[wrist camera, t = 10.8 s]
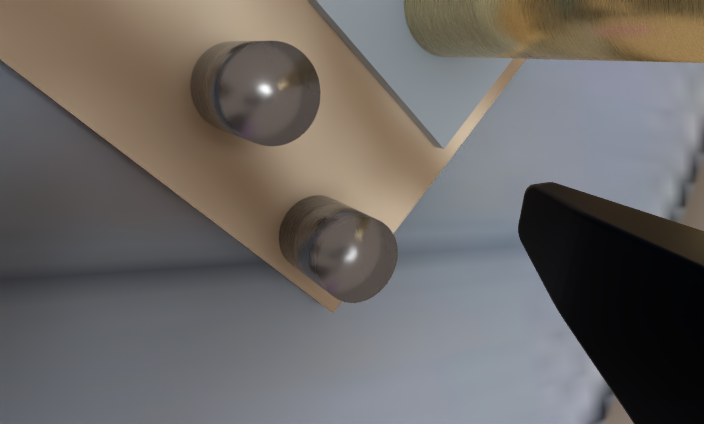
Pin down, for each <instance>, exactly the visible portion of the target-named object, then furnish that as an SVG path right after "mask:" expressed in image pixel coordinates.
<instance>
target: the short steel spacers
mask: <svg viewBox="0 0 704 424" xmlns="http://www.w3.org/2000/svg"><path fill="white" fill-rule="evenodd" d="M190 91H191V97H192V100H193V103H194V105H195V108H196V109H197V111H198V113H199V114H200V115H201V116H202V118H203V119H204V120H205V121H207V122H208V123H209V124H210V125H212V126H214V127H216V128H218V129H220V130H223V131H226V132H228V133H231V134H233V135H236V136H238V137H241V138H243V139H246V140H249V141H251V142H254V143H256V144H259V145H263V146H281V145H285V144H288V143H290V142H292V141H294V140H296V139H297V138H299V137H300V136H301V135H303V134H304V133H305V132H306V131H307V130H308V128H309V127H310V126H311V124H312V123H313V121H314V119H315V117H316V114H317V112H318V109H319V104H320V94H321V91H320V83H319V78H318V75H317V72H316V70H315V68H314V66H313V64H312V63H311V61H310V60H309V59H308V58H307V56H306V55H305V54H304V53H303V52H301V51H300V50H299V49H297V48H296V47H294V46H292V45H290V44H287V43H285V42H280V41H228V42H222V43H219V44H216V45H214V46H212V47H211V48H209V49H208V50H206V51H205V52H204V53H203V54H202V55H201V56H200V58H199V59H198V60H197V62H196V64H195V66H194V68H193V71H192V75H191V80H190ZM279 245H280V249H281V252H282V254H283V256H284V257H285V259H286V260H287V261H288V262H289V263H290V264H291V265H293V266H294V267H295V268H296V269H298V270H299V271H300V272H302V273H303V274H304V275H306V276H307V277H308V278H310V279H311V280H312V281H313V282H315V283H316V284H317V285H319V286H320V287H321V288H323V289H324V290H325V291H327V292H328V293H329V294H331V295H332V296H333V297H335V298H336V299H338V300H340V301H343V302H348V303H356V302H361V301H364V300H367V299H369V298H371V297H373V296H374V295H376V294H377V293H378V292H380V291H381V290H382V289H383V288H384V286H385V285H386V284H387V283H388V281H389V280H390V278H391V276H392V274H393V272H394V269H395V266H396V262H397V254H398V252H397V243H396V240H395V237H394V235H393V233H392V231H391V230H390V228H389V227H388V226H387V225H385V224H384V223H383V222H381V221H379V220H377V219H375V218H373V217H371V216H369V215H367V214H364V213H362V212H360V211H358V210H356V209H354V208H352V207H349V206H347V205H345V204H343V203H341V202H339V201H337V200H335V199H332V198H330V197H327V196H323V195H315V196H309V197H307V198H304V199H302V200H300V201H299V202H297V203H296V204H295V205H293V206H292V207H291V208H290V210H289V211H288V212H287V213H286V215H285V217H284V219H283V221H282V223H281V226H280V230H279Z"/></svg>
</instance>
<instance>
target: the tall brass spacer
mask: <svg viewBox="0 0 704 424" xmlns="http://www.w3.org/2000/svg"><path fill="white" fill-rule="evenodd" d="M404 10H405V17H406V21H407V24H408V27H409V30H410V32H411V34H412V36H413V37H414V39H415V40H416V42H417V43H418V44H419V45H420V46H421V47H422V48H423V49H424V50H426V51H427V52H429V53H431V54H433V55H436V56H440V57H469V58H513V59H558V60H602V61H647V62H692V63H704V0H404Z"/></svg>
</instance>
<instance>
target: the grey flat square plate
mask: <svg viewBox="0 0 704 424" xmlns="http://www.w3.org/2000/svg"><path fill="white" fill-rule="evenodd" d="M308 1H309V2H310V3H311V5H312V6H313V7H314V8H315V9H316V10H317V12H318V13H319V14H320V15H321V16H322V17H323V18H324V20H325V21H326V22H327V23H328V24H329V25H330V26H331V28H332V29H333V30H334V31H335V32H336V33H337V35H338V36H339V37H340V38H341V39H342V40H343V41H344V43H345V44H346V45H347V46H348V47H349V48H350V49H351V51H352V52H353V53H354V54H355V55H356V56H357V58H358V59H359V60H360V61H361V62H362V63H363V64H364V66H365V67H366V68H367V69H368V70H369V71H370V72H371V74H372V75H373V76H374V77H375V78H376V79H377V81H378V82H379V83H380V84H381V85H382V86H383V87H384V89H385V90H386V91H387V92H388V93H389V94H390V95H391V97H392V98H393V99H394V100H395V101H396V102H397V104H398V105H399V106H400V107H401V108H402V109H403V110H404V112H405V113H406V114H407V115H408V116H409V117H410V118H411V120H412V121H413V122H414V123H415V124H416V125H417V127H418V128H419V129H420V130H421V131H422V132H423V133H424V135H425V136H426V137H427V138H428V139H429V140H430V141H431V143H432V144H433V145H434V146H435V147H438V148H442V149H444V148H445V147H446V146H447V144H448V143H449V142H450V141H451V139H452V138H453V137H454V135H455V134H456V133H457V131H458V130H459V129H460V127H461V126H462V125H463V124H464V122H465V121H466V120H467V118H468V117H469V116H470V114H471V113H472V112H473V110H474V109H475V108H476V107H477V105H478V104H479V103H480V101H481V100H482V99H483V97H484V96H485V95H486V93H487V92H488V91H489V90H490V88H491V87H492V86H493V84H494V83H495V82H496V80H497V79H498V78H499V77H500V75H501V74H502V73H503V71H504V70H505V69H506V67H507V66H508V65H509V63H510V62H511V61H512V60H513V58H469V57H440V56H436V55H433V54H431V53H429V52H427V51H426V50H424V49H423V48H422V47H421V46H420V45H419V44H418V43H417V42H416V40H415V39H414V37H413V36H412V34H411V32H410V30H409V27H408V24H407V21H406V17H405V10H404V0H308Z"/></svg>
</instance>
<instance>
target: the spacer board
mask: <svg viewBox="0 0 704 424" xmlns="http://www.w3.org/2000/svg"><path fill="white" fill-rule="evenodd" d="M228 41H280V42H285V43H287V44H290V45H292V46H294V47H296V48H297V49H299V50H300V51H301V52H303V53H304V54H305V55H306V56H307V58H308V59H309V60H310V61H311V63H312V64H313V66H314V68H315V70H316V72H317V75H318V78H319V83H320V91H321V94H320V104H319V109H318V112H317V114H316V117H315V119H314V121H313V123H312V124H311V126H310V127H309V128H308V130H307V131H306V132H305V133H304V134H303V135H301V136H300V137H299V138H297V139H296V140H294V141H292V142H290V143H288V144H285V145H281V146H263V145H259V144H256V143H254V142H251V141H249V140H246V139H243V138H241V137H238V136H236V135H233V134H231V133H228V132H226V131H223V130H220V129H218V128H216V127H214V126H212V125H210V124H209V123H208V122H207V121H205V120H204V119H203V118H202V116H201V115H200V114H199V113H198V111H197V109H196V108H195V105H194V103H193V100H192V97H191V91H190V80H191V75H192V71H193V68H194V66H195V64H196V62H197V60H198V59H199V58H200V56H201V55H202V54H203V53H204V52H205V51H206V50H208V49H209V48H211V47H212V46H214V45H216V44H219V43H222V42H228ZM0 60H2V61H3V62H4V63H6V64H7V65H8V66H10V67H11V68H12V69H14V70H15V71H16V72H17V73H19V74H20V75H21V76H23V77H24V78H25V79H27V80H28V81H29V82H31V83H32V84H33V85H35V86H36V87H37V88H38V89H40V90H41V91H42V92H44V93H45V94H46V95H48V96H49V97H50V98H52V99H53V100H54V101H56V102H57V103H58V104H59V105H61V106H62V107H63V108H65V109H66V110H67V111H69V112H70V113H71V114H73V115H74V116H75V117H77V118H78V119H79V120H80V121H82V122H83V123H84V124H86V125H87V126H88V127H90V128H91V129H92V130H94V131H95V132H96V133H98V134H99V135H100V136H101V137H103V138H104V139H105V140H107V141H108V142H109V143H111V144H112V145H113V146H115V147H116V148H117V149H119V150H120V151H121V152H122V153H124V154H125V155H126V156H128V157H129V158H130V159H132V160H133V161H134V162H136V163H137V164H138V165H140V166H141V167H142V168H143V169H145V170H146V171H147V172H149V173H150V174H151V175H153V176H154V177H155V178H157V179H158V180H159V181H161V182H162V183H163V184H164V185H166V186H167V187H168V188H170V189H171V190H172V191H174V192H175V193H176V194H178V195H179V196H180V197H182V198H183V199H184V200H185V201H187V202H188V203H189V204H191V205H192V206H193V207H195V208H196V209H197V210H199V211H200V212H201V213H202V214H204V215H205V216H206V217H208V218H209V219H210V220H212V221H213V222H214V223H216V224H217V225H218V226H220V227H221V228H222V229H223V230H225V231H226V232H227V233H229V234H230V235H231V236H233V237H234V238H235V239H237V240H238V241H239V242H241V243H242V244H243V245H244V246H246V247H247V248H248V249H250V250H251V251H252V252H254V253H255V254H256V255H258V256H259V257H260V258H262V259H263V260H264V261H265V262H267V263H268V264H269V265H271V266H272V267H273V268H275V269H276V270H277V271H279V272H280V273H281V274H283V275H284V276H285V277H286V278H288V279H289V280H290V281H292V282H293V283H294V284H296V285H297V286H298V287H300V288H301V289H302V290H304V291H305V292H306V293H307V294H309V295H310V296H311V297H313V298H314V299H315V300H317V301H318V302H319V303H321V304H322V305H323V306H325V307H326V308H327V309H328V310H330V311H331V312H332V313H333V312H334V311H335V310H336V308H337V307H338V306H339V304H340V303H341V302H342V301H340V300H338V299H336V298H335V297H333V296H332V295H331V294H329V293H328V292H327V291H325V290H324V289H323V288H321V287H320V286H319V285H317V284H316V283H315V282H313V281H312V280H311V279H310V278H308V277H307V276H306V275H304V274H303V273H302V272H300V271H299V270H298V269H296V268H295V267H294V266H293V265H291V264H290V263H289V262H288V261H287V260H286V259H285V257H284V256H283V254H282V252H281V249H280V245H279V230H280V226H281V223H282V221H283V219H284V217H285V215H286V213H287V212H288V211H289V210H290V208H291V207H292V206H293V205H295V204H296V203H297V202H299V201H300V200H302V199H304V198H307V197H309V196H315V195H323V196H327V197H330V198H332V199H335V200H337V201H339V202H341V203H343V204H345V205H347V206H349V207H352V208H354V209H356V210H358V211H360V212H362V213H364V214H367V215H369V216H371V217H373V218H375V219H377V220H379V221H381V222H383V223H384V224H385V225H387V226H388V227H389V228H390V230H391V231H392V233H394V232H395V231H396V230H397V228H398V227H399V226H400V224H401V223H402V222H403V220H404V219H405V218H406V216H407V215H408V214H409V212H410V211H411V210H412V209H413V207H414V206H415V205H416V203H417V202H418V201H419V199H420V198H421V197H422V195H423V194H424V193H425V191H426V190H427V189H428V188H429V186H430V185H431V184H432V182H433V181H434V180H435V178H436V177H437V176H438V174H439V173H440V172H441V170H442V169H443V168H444V166H445V165H446V164H447V163H448V161H449V160H450V159H451V157H452V156H453V155H454V153H455V152H456V151H457V149H458V148H459V147H460V145H461V144H462V143H463V142H464V140H465V139H466V138H467V136H468V135H469V134H470V132H471V131H472V130H473V128H474V127H475V126H476V124H477V123H478V122H479V121H480V119H481V118H482V117H483V115H484V114H485V113H486V111H487V110H488V109H489V107H490V106H491V105H492V103H493V102H494V101H495V100H496V98H497V97H498V96H499V94H500V93H501V92H502V90H503V89H504V88H505V86H506V85H507V84H508V82H509V81H510V80H511V79H512V77H513V76H514V75H515V73H516V72H517V71H518V69H519V68H520V67H521V65H522V64H523V63H524V61H525V60H526V59H513V60H512V61H511V62H510V63H509V65H508V66H507V67H506V69H505V70H504V71H503V73H502V74H501V75H500V77H499V78H498V79H497V80H496V82H495V83H494V84H493V86H492V87H491V88H490V90H489V91H488V92H487V93H486V95H485V96H484V97H483V99H482V100H481V101H480V103H479V104H478V105H477V107H476V108H475V109H474V110H473V112H472V113H471V114H470V116H469V117H468V118H467V120H466V121H465V122H464V124H463V125H462V126H461V127H460V129H459V130H458V131H457V133H456V134H455V135H454V137H453V138H452V139H451V141H450V142H449V143H448V144H447V146H446V147H445V148H444V149H442V148H438V147H435V146H434V145H433V144H432V143H431V141H430V140H429V139H428V138H427V137H426V136H425V135H424V133H423V132H422V131H421V130H420V129H419V128H418V127H417V125H416V124H415V123H414V122H413V121H412V120H411V118H410V117H409V116H408V115H407V114H406V113H405V112H404V110H403V109H402V108H401V107H400V106H399V105H398V104H397V102H396V101H395V100H394V99H393V98H392V97H391V95H390V94H389V93H388V92H387V91H386V90H385V89H384V87H383V86H382V85H381V84H380V83H379V82H378V81H377V79H376V78H375V77H374V76H373V75H372V74H371V72H370V71H369V70H368V69H367V68H366V67H365V66H364V64H363V63H362V62H361V61H360V60H359V59H358V58H357V56H356V55H355V54H354V53H353V52H352V51H351V49H350V48H349V47H348V46H347V45H346V44H345V43H344V41H343V40H342V39H341V38H340V37H339V36H338V35H337V33H336V32H335V31H334V30H333V29H332V28H331V26H330V25H329V24H328V23H327V22H326V21H325V20H324V18H323V17H322V16H321V15H320V14H319V13H318V12H317V10H316V9H315V8H314V7H313V6H312V5H311V3H310V2H309V1H308V0H0Z"/></svg>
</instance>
